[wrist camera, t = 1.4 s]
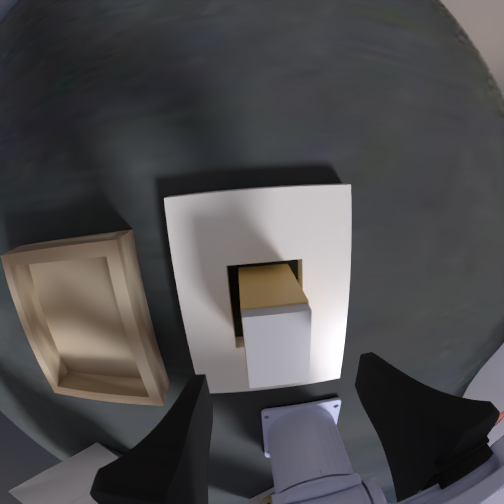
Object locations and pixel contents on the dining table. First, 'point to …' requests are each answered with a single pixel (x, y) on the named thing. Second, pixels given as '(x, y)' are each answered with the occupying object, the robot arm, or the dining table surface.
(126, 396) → the parts tray
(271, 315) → the block
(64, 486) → the white irregular angular block
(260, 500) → the coffee box
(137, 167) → the dining table surface
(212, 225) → the socket block
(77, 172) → the dining table surface
